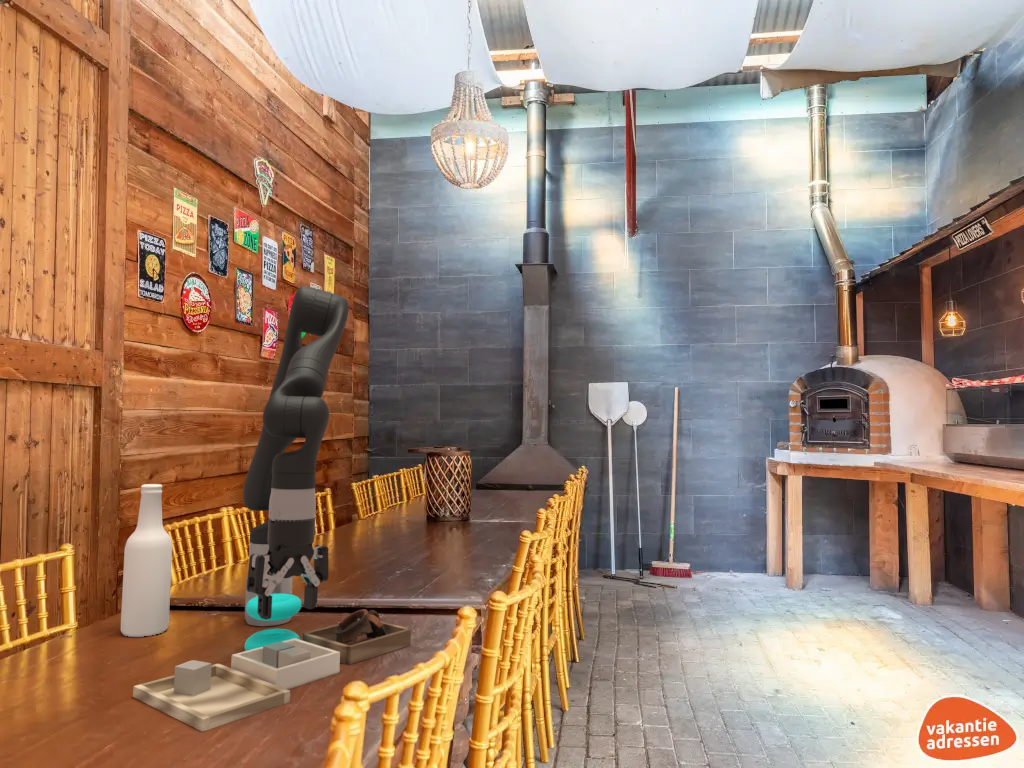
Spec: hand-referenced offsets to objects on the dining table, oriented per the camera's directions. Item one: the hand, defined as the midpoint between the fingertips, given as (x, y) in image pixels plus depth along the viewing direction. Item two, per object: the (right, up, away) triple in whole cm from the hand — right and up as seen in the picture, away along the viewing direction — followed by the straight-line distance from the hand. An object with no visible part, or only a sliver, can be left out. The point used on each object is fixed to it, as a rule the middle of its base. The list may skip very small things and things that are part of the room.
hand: (287, 613), depth 119 cm
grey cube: (-3, -11, +3) cm, 12 cm away
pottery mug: (+9, -13, +20) cm, 25 cm away
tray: (-9, -11, -10) cm, 17 cm away
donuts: (-8, -13, +16) cm, 22 cm away
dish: (-1, -12, +2) cm, 12 cm away
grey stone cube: (-13, -10, -6) cm, 18 cm away
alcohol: (-38, -13, +28) cm, 49 cm away
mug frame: (+7, -13, +20) cm, 24 cm away
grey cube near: (+1, -11, +1) cm, 11 cm away
